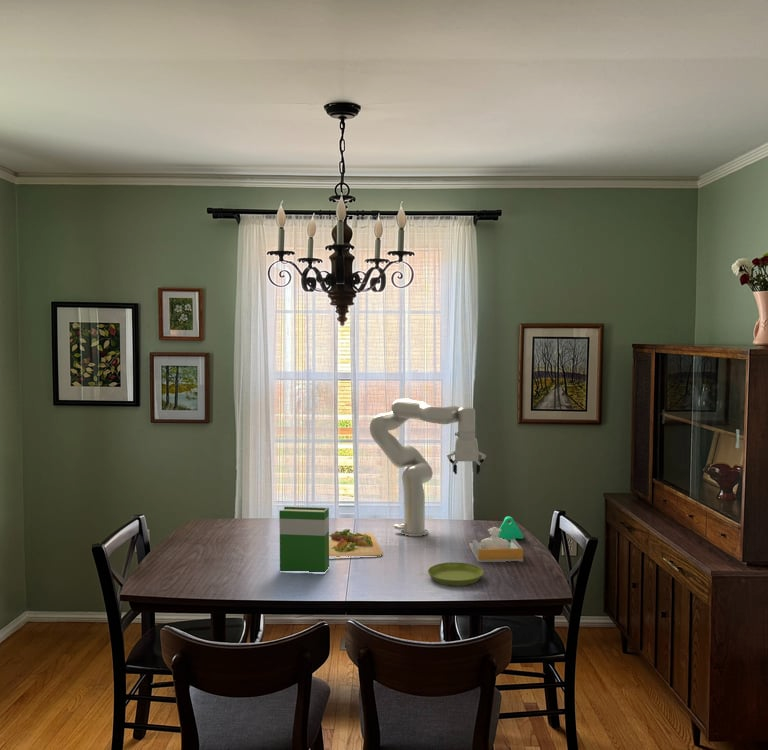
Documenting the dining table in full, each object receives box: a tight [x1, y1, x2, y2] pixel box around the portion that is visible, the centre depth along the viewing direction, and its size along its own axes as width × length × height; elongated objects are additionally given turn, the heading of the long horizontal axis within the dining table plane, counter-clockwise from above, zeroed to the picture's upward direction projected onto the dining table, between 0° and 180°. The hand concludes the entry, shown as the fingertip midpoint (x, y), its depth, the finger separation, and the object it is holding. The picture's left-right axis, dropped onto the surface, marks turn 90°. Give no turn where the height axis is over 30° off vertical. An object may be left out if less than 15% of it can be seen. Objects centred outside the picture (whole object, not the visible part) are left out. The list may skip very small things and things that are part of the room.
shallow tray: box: [468, 538, 524, 563], centre depth 290 cm, size 18×24×5 cm
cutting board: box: [329, 528, 384, 557], centre depth 300 cm, size 35×23×8 cm
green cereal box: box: [278, 506, 330, 572], centre depth 267 cm, size 18×7×24 cm, turn 82°
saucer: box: [427, 561, 484, 587], centre depth 258 cm, size 21×21×3 cm
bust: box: [479, 526, 510, 549], centre depth 288 cm, size 12×8×11 cm
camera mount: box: [498, 515, 524, 541], centre depth 312 cm, size 12×8×10 cm, turn 88°
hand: (466, 473), depth 307 cm, fingers open, 9 cm apart
